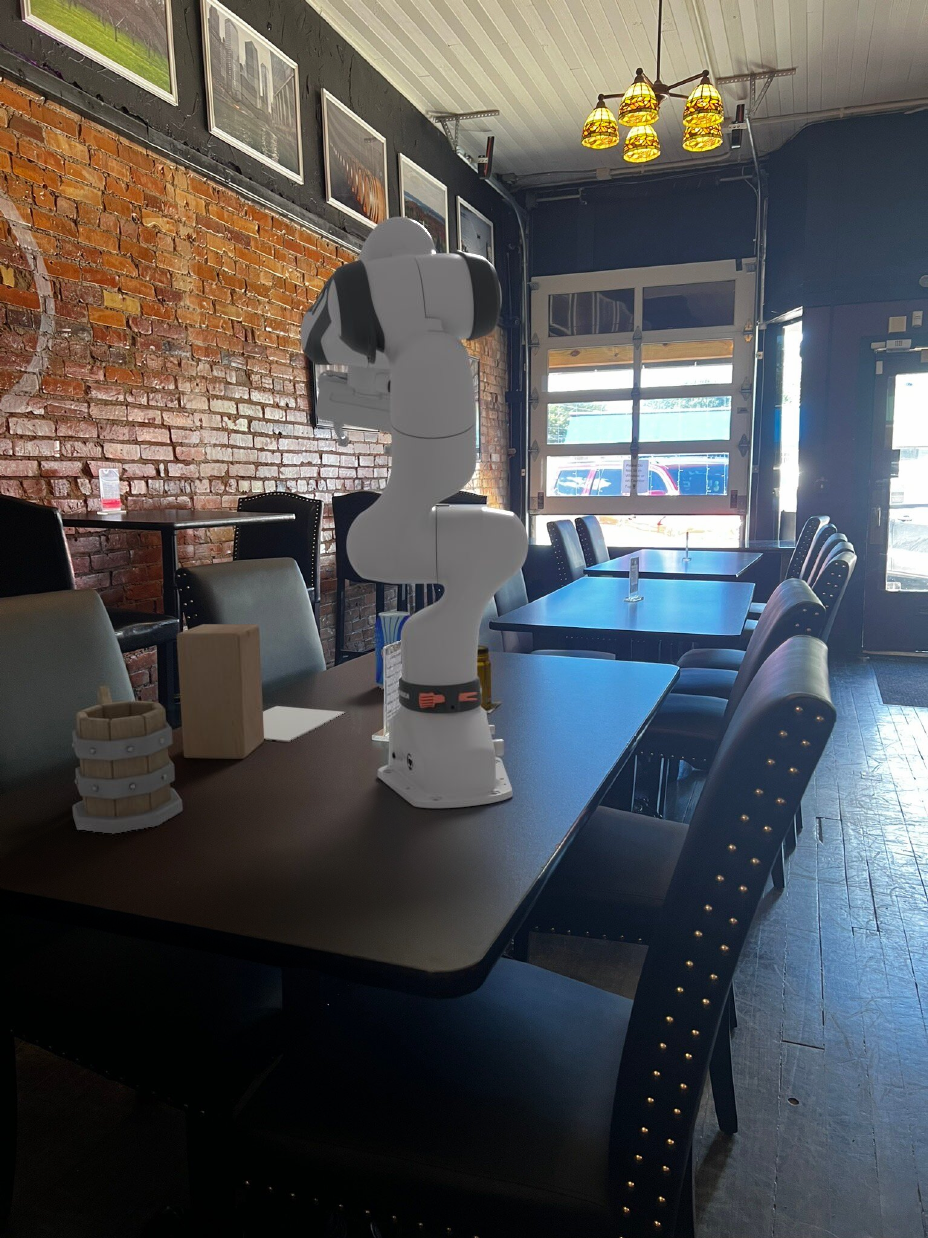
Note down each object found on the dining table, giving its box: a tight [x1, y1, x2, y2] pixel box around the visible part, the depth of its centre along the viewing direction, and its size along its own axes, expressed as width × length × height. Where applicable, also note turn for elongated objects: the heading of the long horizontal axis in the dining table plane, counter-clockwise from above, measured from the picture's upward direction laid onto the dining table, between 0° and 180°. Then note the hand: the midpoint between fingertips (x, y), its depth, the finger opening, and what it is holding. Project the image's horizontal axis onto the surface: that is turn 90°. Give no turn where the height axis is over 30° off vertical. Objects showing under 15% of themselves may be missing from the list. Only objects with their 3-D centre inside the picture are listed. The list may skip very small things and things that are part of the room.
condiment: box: [477, 644, 502, 714], centre depth 164 cm, size 7×8×12 cm
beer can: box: [374, 610, 411, 691], centre depth 182 cm, size 8×8×16 cm
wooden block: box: [176, 623, 265, 760], centre depth 137 cm, size 10×10×20 cm
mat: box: [263, 705, 346, 743], centre depth 154 cm, size 20×15×1 cm
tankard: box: [71, 685, 184, 835], centre depth 113 cm, size 20×13×15 cm, turn 30°
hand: (366, 450), depth 163 cm, fingers open, 8 cm apart
